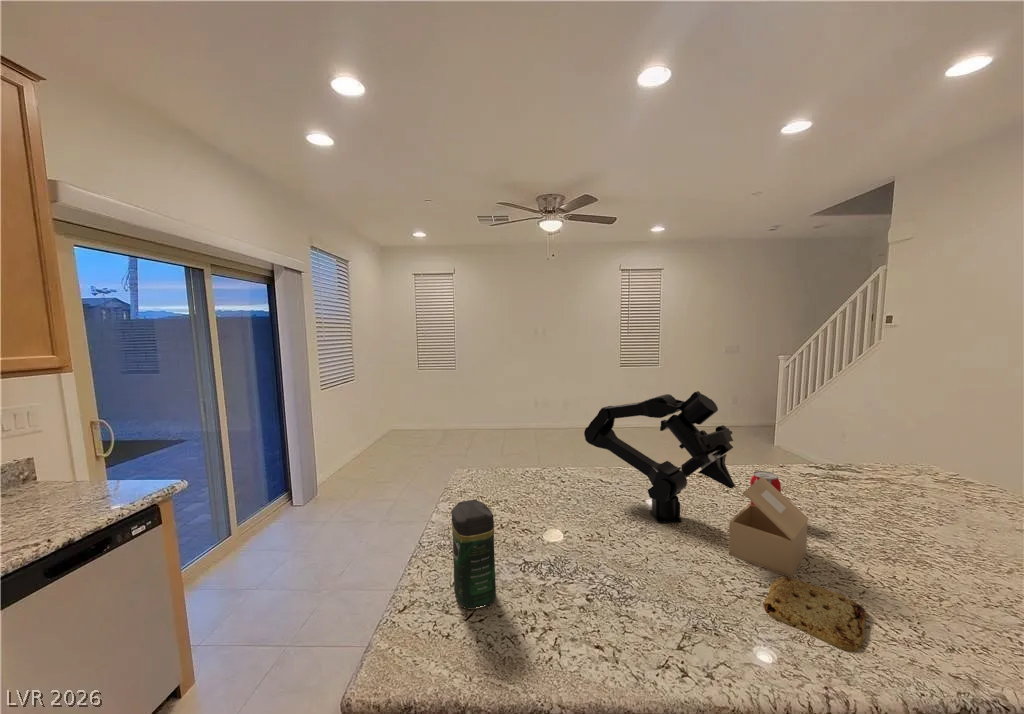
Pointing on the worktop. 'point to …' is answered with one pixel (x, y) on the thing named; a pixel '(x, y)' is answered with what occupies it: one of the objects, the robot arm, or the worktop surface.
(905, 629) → the worktop surface
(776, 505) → the lid flap
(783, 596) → the pastry
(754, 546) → the carton
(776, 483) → the soda can
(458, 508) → the coffee jar
